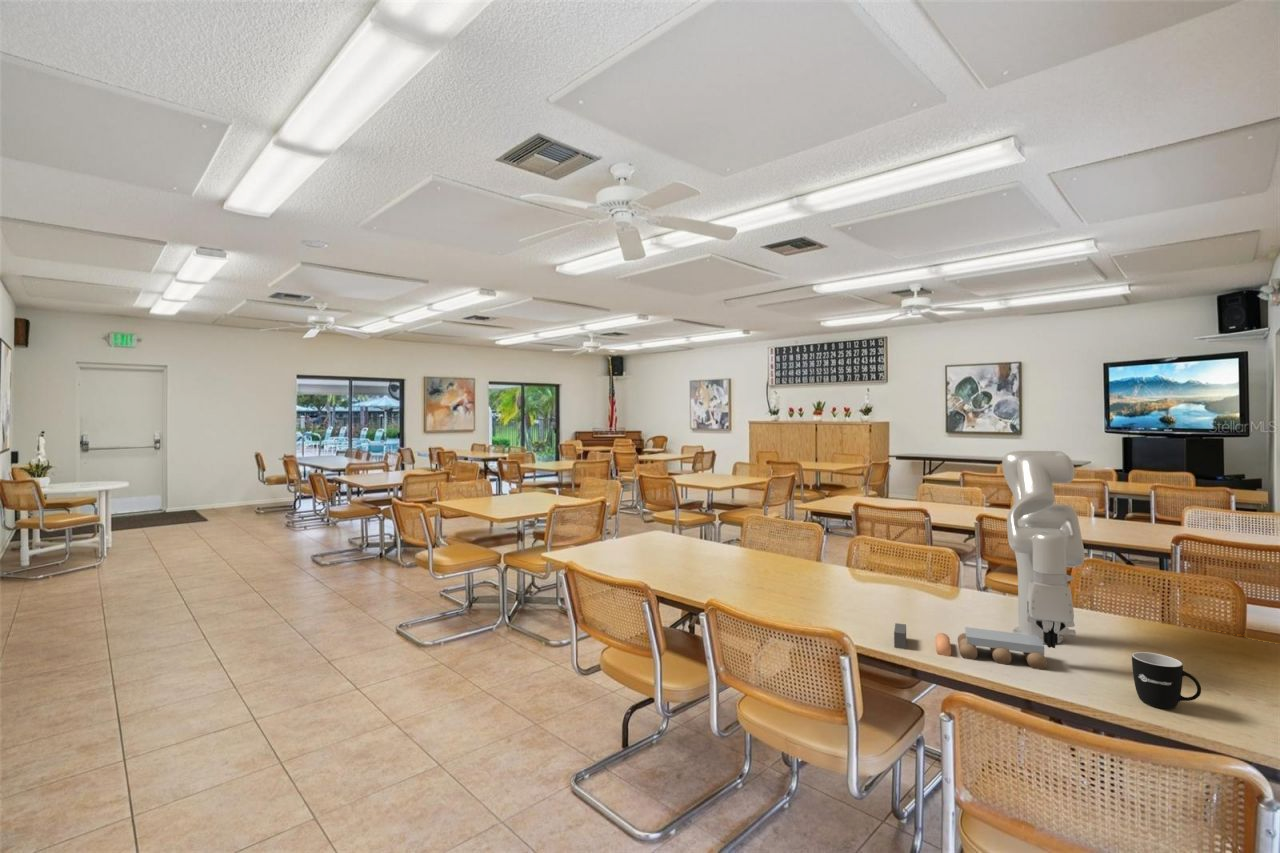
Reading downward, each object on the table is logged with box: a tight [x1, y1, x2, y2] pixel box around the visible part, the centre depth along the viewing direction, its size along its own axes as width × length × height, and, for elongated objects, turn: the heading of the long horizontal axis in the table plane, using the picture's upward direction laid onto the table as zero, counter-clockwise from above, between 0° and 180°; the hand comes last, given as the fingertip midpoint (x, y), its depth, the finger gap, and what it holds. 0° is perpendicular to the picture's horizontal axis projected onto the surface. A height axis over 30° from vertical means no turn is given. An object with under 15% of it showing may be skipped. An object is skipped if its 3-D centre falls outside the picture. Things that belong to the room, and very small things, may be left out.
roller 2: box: [957, 632, 978, 661], centre depth 169 cm, size 10×4×4 cm, turn 154°
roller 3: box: [1022, 652, 1048, 671], centre depth 162 cm, size 10×4×4 cm, turn 154°
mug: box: [1131, 651, 1202, 709], centre depth 137 cm, size 12×9×10 cm
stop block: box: [893, 622, 907, 650], centre depth 177 cm, size 3×9×5 cm, turn 154°
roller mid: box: [989, 648, 1012, 666], centre depth 166 cm, size 10×4×4 cm, turn 154°
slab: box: [964, 626, 1045, 656], centre depth 165 cm, size 18×9×2 cm, turn 64°
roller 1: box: [934, 632, 952, 657], centre depth 172 cm, size 10×4×4 cm, turn 154°
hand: (1050, 646), depth 161 cm, fingers closed
